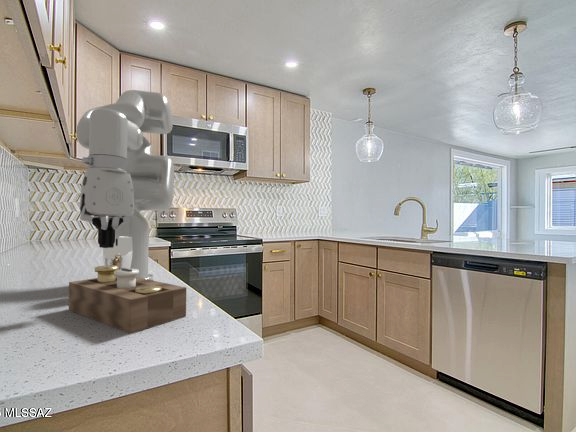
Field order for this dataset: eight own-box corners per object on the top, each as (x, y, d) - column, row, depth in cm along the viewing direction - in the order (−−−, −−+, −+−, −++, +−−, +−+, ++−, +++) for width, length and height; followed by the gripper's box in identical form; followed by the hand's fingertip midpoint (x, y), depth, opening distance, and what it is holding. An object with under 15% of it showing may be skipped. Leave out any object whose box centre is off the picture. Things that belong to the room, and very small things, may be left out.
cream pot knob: (108, 299, 68) (109, 269, 68) (130, 294, 72) (131, 266, 72) (121, 303, 65) (121, 271, 65) (143, 298, 69) (143, 268, 69)
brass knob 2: (129, 318, 64) (130, 288, 64) (151, 313, 68) (152, 284, 68) (144, 323, 61) (144, 292, 61) (166, 317, 65) (166, 287, 65)
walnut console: (68, 309, 70) (69, 282, 70) (122, 298, 80) (122, 274, 80) (130, 333, 57) (131, 299, 57) (186, 316, 67) (186, 287, 67)
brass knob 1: (90, 293, 72) (90, 267, 72) (111, 289, 76) (111, 264, 76) (100, 297, 70) (101, 269, 70) (122, 292, 74) (123, 266, 74)
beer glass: (100, 297, 81) (101, 237, 81) (103, 291, 87) (104, 235, 87) (131, 295, 84) (132, 237, 83) (132, 289, 90) (133, 235, 90)
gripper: (80, 158, 65) (77, 250, 64) (148, 169, 77) (146, 246, 77) (63, 162, 69) (61, 248, 68) (130, 172, 81) (129, 245, 81)
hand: (106, 247), depth 72 cm, fingers closed
